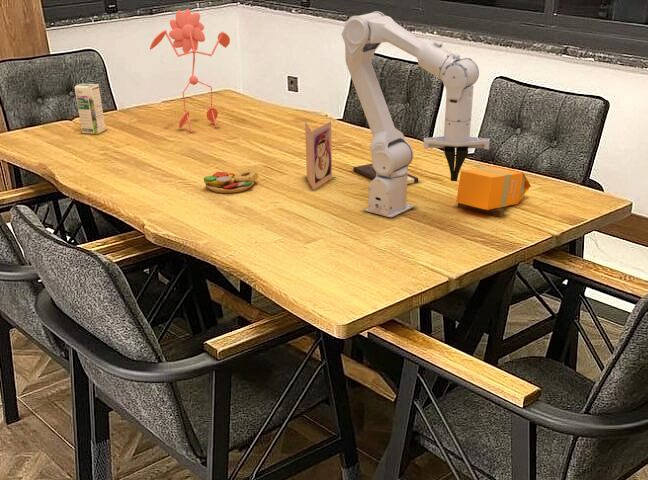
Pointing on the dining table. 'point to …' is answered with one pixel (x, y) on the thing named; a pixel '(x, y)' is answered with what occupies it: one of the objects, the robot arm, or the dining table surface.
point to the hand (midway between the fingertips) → (453, 179)
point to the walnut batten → (495, 212)
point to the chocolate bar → (371, 173)
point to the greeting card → (318, 155)
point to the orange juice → (491, 187)
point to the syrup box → (90, 108)
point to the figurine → (187, 37)
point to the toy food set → (231, 181)
